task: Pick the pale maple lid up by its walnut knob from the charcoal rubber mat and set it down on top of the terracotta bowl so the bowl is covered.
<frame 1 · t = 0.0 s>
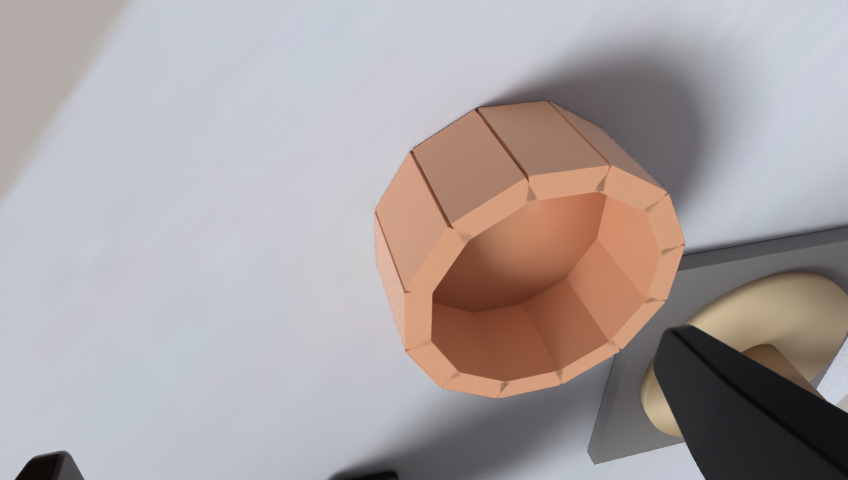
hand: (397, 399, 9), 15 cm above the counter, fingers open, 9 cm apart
bowl: (499, 220, 28), on the counter
mat: (729, 344, 38), on the counter
lid: (740, 356, 38), point 1 cm above the counter, touching mat
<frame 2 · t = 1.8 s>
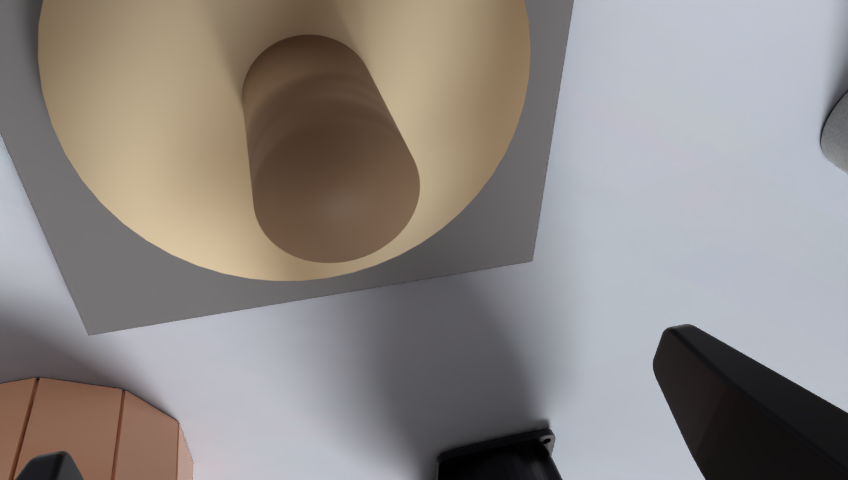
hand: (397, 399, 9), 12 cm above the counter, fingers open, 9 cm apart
bowl: (45, 472, 26), on the counter
mat: (302, 74, 19), on the counter
lid: (306, 87, 18), point 1 cm above the counter, touching mat
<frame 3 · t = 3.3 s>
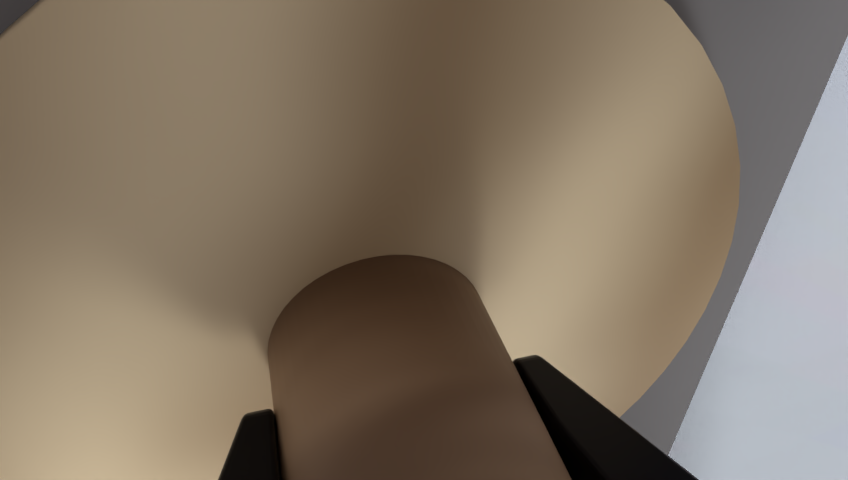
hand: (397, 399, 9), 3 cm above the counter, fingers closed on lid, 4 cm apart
mat: (359, 272, 12), on the counter
lid: (370, 308, 11), point 1 cm above the counter, touching gripper, mat
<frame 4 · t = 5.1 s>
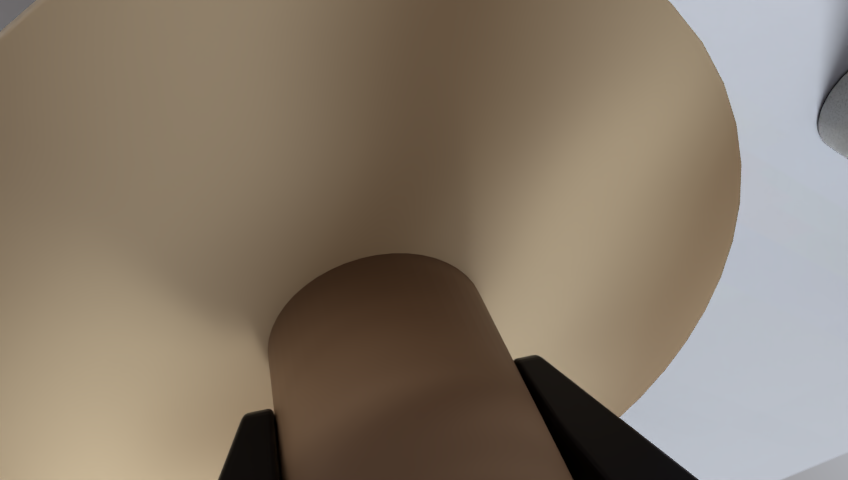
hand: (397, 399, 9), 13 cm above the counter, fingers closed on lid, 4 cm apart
mat: (305, 55, 19), on the counter
lid: (370, 307, 11), point 11 cm above the counter, touching gripper
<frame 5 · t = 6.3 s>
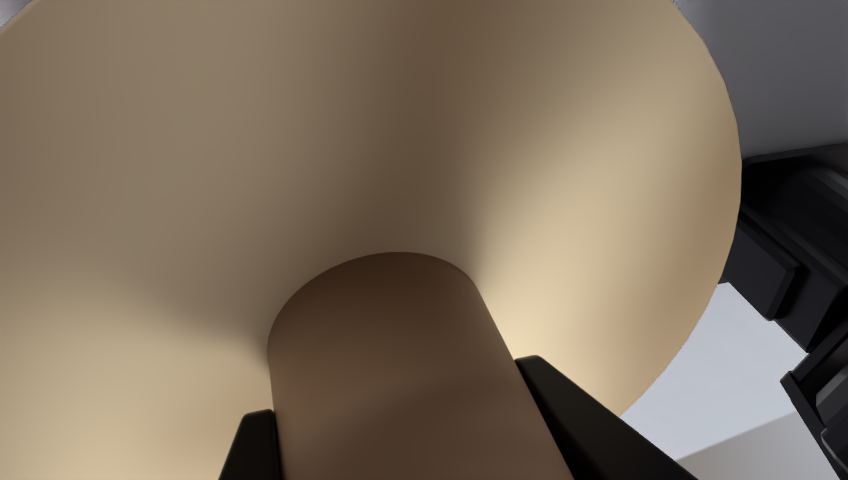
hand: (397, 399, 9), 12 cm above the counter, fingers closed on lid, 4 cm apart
lid: (370, 306, 11), point 10 cm above the counter, touching gripper
when the fingers open (8 cm above the counter, at t = 7.2 s): lid drops 1 cm, resting on bowl.
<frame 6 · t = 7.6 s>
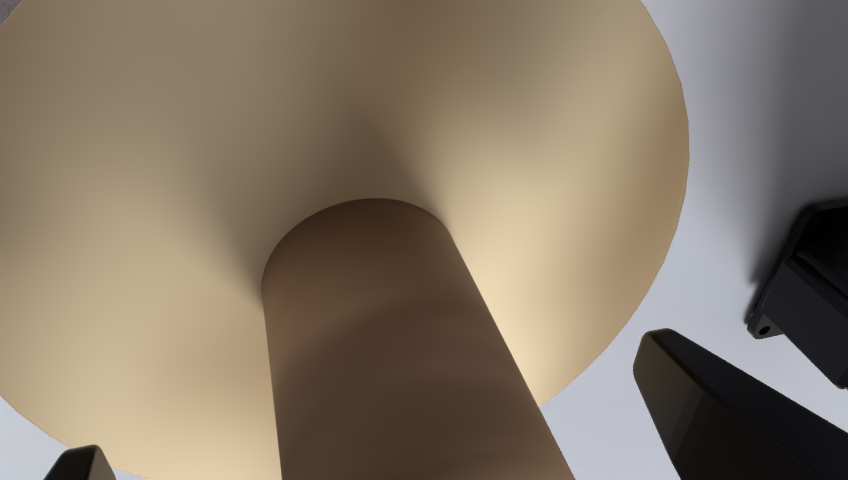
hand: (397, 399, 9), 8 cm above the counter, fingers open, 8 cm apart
lid: (355, 254, 12), point 5 cm above the counter, touching bowl
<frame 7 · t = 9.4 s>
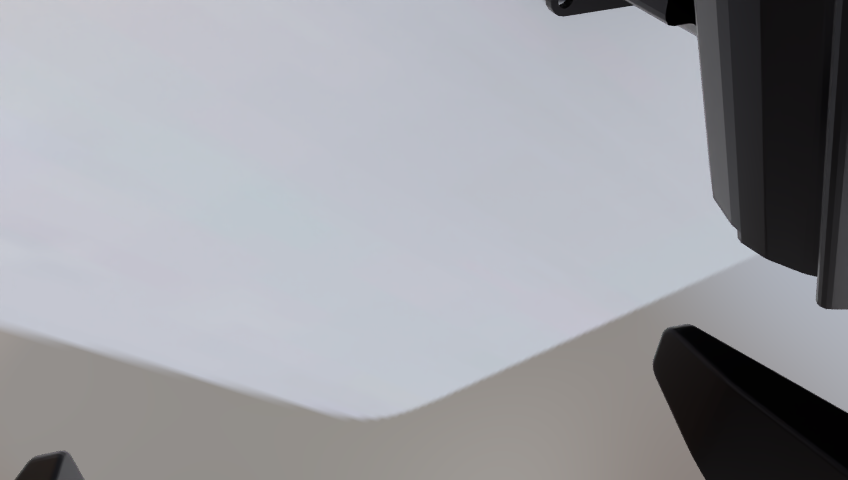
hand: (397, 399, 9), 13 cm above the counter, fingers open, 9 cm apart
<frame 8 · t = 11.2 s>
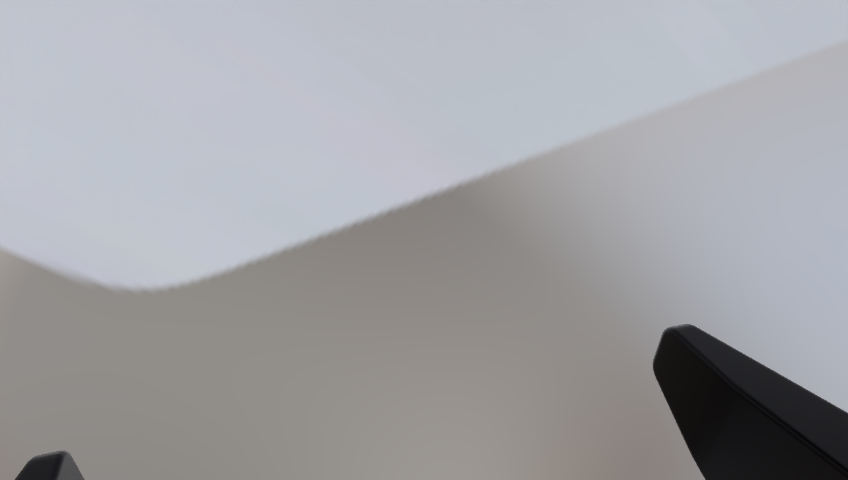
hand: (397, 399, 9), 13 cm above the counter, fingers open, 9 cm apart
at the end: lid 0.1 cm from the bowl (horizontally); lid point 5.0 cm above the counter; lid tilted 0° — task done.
